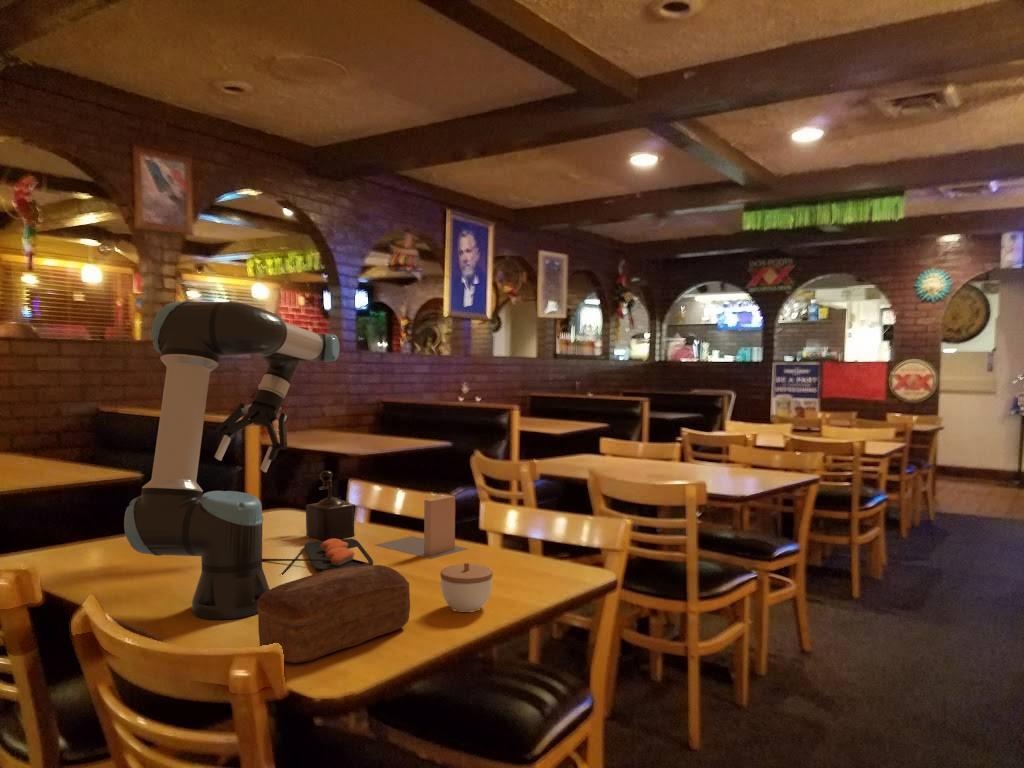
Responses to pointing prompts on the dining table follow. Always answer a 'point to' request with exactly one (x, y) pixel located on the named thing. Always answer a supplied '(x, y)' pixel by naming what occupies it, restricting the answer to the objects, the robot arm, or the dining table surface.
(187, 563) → the dining table surface
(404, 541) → the board
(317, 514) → the pepper mill
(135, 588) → the dining table surface
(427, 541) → the tile
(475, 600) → the lidded jar
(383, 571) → the bread
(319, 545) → the sushi plate
